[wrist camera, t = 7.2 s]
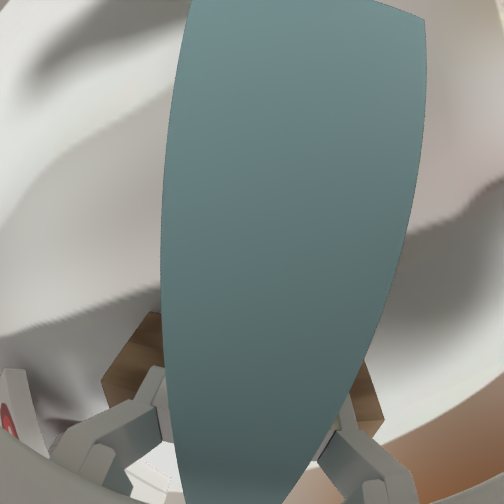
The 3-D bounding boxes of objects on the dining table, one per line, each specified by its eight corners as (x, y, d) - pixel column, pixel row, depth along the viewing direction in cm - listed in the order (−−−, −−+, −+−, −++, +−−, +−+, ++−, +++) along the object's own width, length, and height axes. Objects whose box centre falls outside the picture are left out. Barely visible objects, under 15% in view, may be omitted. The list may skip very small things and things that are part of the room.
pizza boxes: (24, 346, 25) (-58, 436, 8) (190, 482, 31) (166, 577, 14) (2, 382, 30) (-49, 443, 12) (126, 486, 36) (100, 553, 19)
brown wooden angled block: (356, 340, 20) (384, 420, 13) (345, 369, 21) (365, 447, 14) (149, 311, 21) (100, 380, 13) (151, 342, 22) (110, 411, 14)
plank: (325, 105, 10) (424, 19, 2) (258, 442, 16) (249, 543, 9) (249, 94, 10) (197, -20, 2) (215, 436, 16) (194, 535, 9)
